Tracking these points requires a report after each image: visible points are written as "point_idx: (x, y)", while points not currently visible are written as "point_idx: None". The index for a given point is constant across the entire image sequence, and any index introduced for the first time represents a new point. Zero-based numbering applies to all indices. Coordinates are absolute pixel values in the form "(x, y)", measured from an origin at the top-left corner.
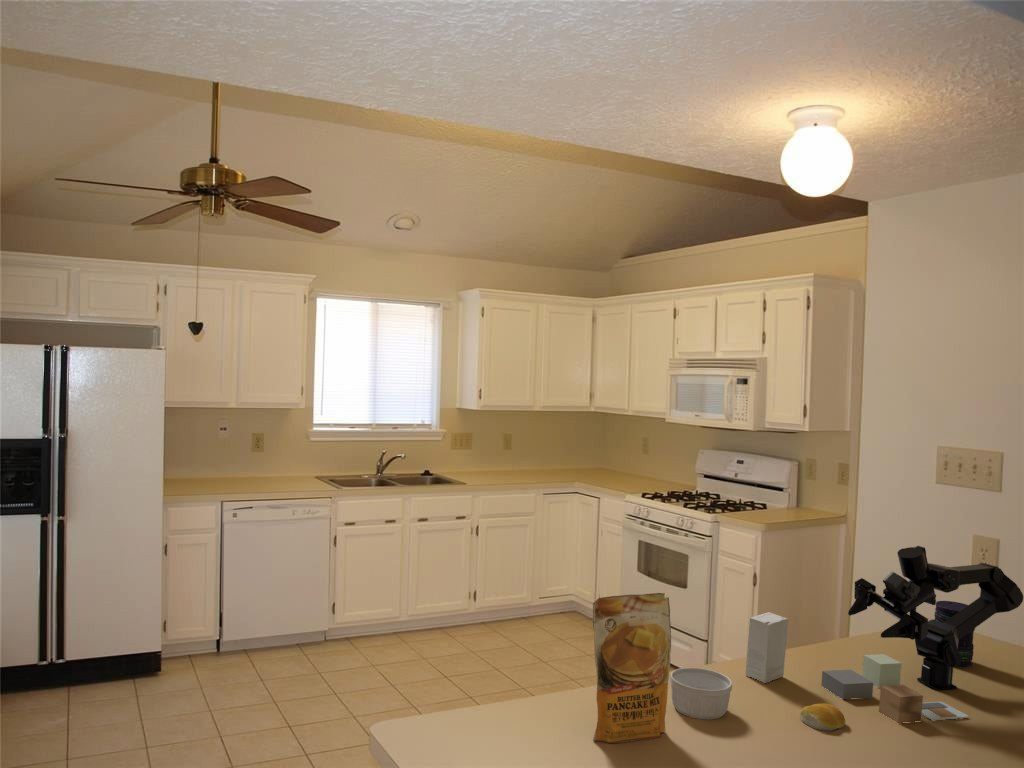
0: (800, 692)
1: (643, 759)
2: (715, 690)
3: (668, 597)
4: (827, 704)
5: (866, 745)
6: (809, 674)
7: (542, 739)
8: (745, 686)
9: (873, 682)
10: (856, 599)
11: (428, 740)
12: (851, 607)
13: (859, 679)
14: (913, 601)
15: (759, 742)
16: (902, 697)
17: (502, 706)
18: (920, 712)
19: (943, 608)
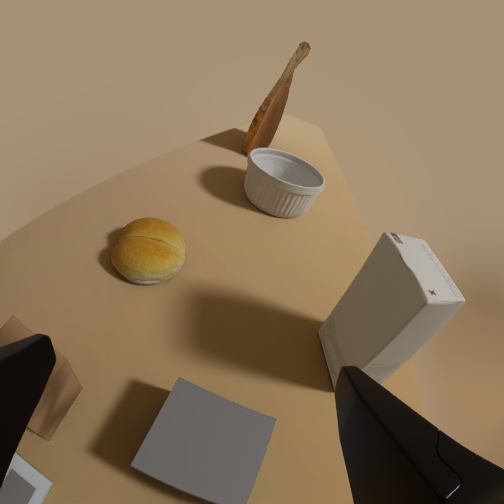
0: (256, 351)
1: (221, 132)
2: (252, 150)
3: (307, 47)
4: (148, 246)
5: (68, 232)
6: (327, 467)
7: (276, 132)
8: (317, 293)
9: None
10: (460, 448)
11: (296, 122)
12: (380, 387)
13: (172, 455)
14: None
15: (179, 174)
16: (8, 321)
17: (327, 150)
18: None
19: None
